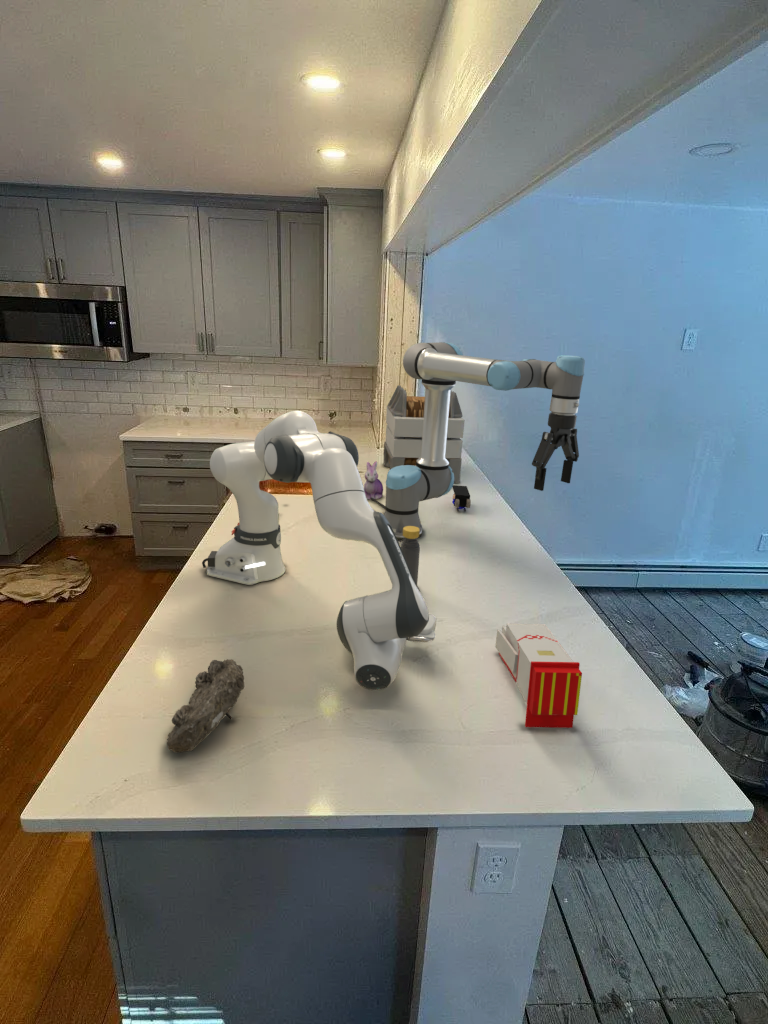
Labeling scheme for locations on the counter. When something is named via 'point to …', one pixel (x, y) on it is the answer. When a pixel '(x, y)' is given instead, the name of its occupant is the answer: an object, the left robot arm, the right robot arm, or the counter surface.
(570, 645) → the counter surface
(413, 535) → the cap
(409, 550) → the bottle
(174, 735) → the fossil
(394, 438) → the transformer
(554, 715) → the toy
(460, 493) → the figurine character
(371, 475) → the figurine
